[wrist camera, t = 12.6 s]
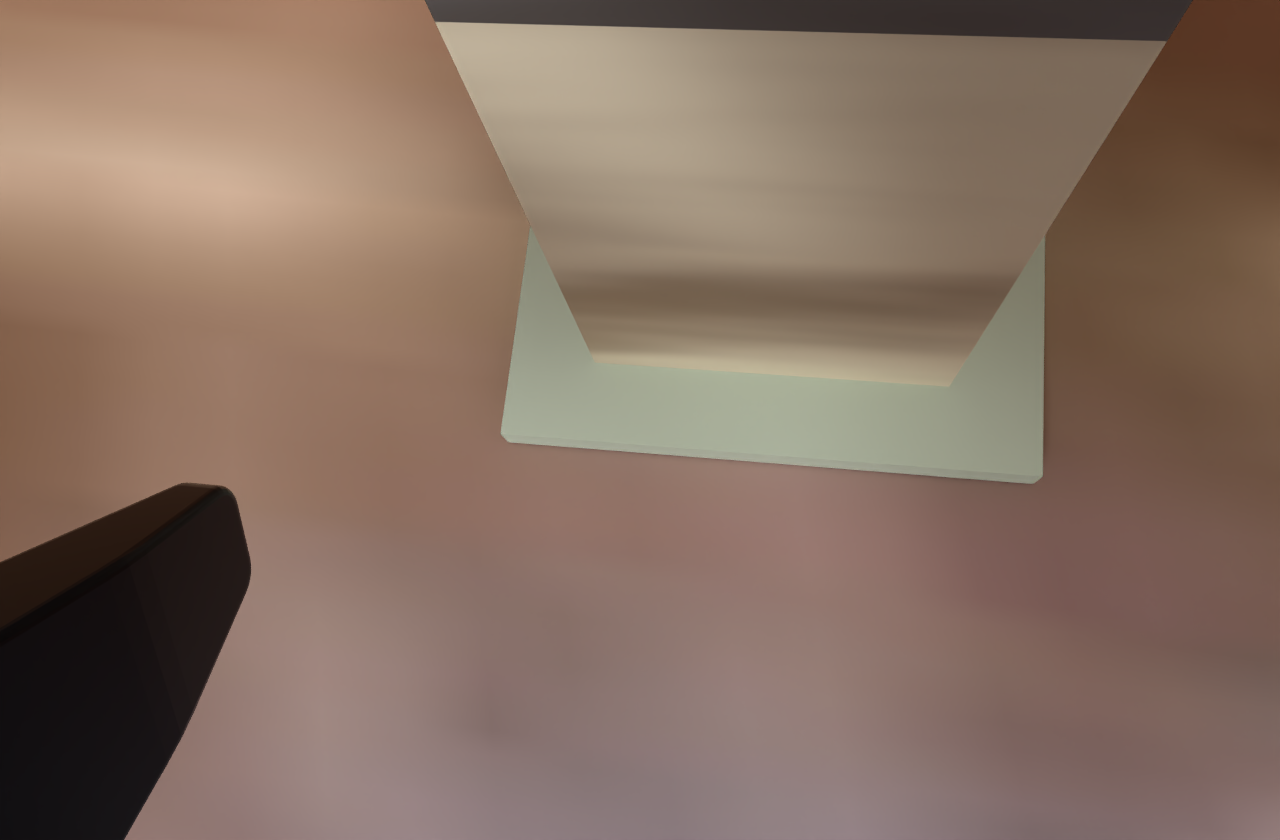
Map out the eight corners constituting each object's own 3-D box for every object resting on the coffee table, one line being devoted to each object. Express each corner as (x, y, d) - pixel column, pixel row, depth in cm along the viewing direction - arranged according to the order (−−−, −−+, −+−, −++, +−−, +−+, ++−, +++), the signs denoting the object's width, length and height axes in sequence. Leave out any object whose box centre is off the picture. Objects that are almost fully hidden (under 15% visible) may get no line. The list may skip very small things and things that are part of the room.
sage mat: (1033, 484, 17) (1042, 476, 17) (508, 441, 19) (500, 433, 18) (1038, 15, 20) (1047, -5, 19) (569, 3, 21) (564, -17, 20)
